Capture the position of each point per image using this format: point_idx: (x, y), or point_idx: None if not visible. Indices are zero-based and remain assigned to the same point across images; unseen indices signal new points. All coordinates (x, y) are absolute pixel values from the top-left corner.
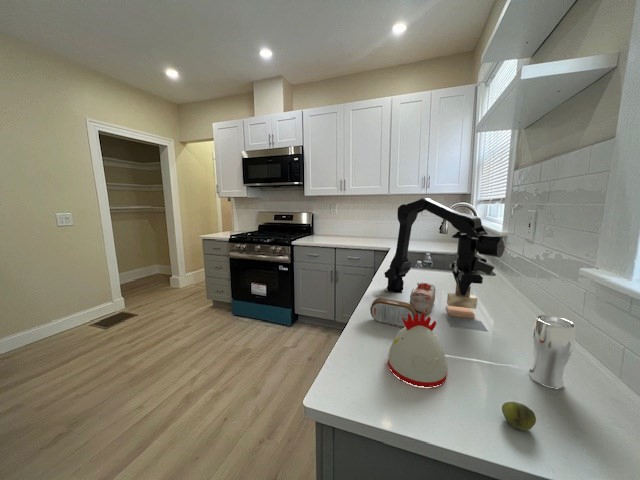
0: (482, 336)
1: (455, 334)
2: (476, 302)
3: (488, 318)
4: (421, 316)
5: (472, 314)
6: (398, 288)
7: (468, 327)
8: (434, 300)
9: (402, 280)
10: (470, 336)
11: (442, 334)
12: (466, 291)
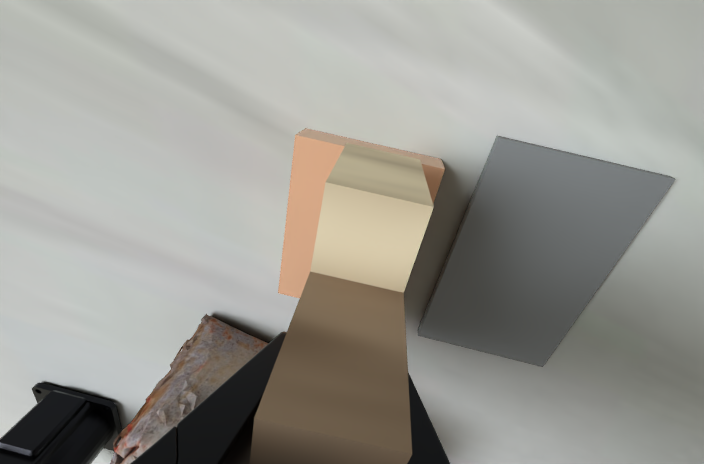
0: (699, 244)
1: (620, 369)
2: (425, 187)
3: (434, 13)
4: None
5: (434, 183)
6: (91, 429)
7: (580, 280)
8: (245, 358)
9: (10, 452)
10: (669, 311)
11: (601, 417)
12: (428, 425)
